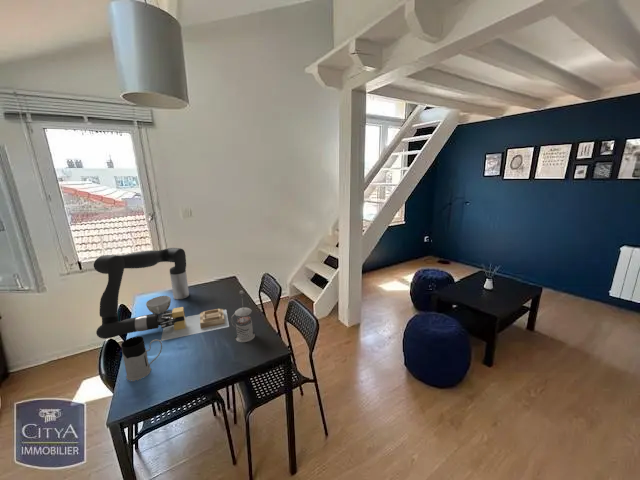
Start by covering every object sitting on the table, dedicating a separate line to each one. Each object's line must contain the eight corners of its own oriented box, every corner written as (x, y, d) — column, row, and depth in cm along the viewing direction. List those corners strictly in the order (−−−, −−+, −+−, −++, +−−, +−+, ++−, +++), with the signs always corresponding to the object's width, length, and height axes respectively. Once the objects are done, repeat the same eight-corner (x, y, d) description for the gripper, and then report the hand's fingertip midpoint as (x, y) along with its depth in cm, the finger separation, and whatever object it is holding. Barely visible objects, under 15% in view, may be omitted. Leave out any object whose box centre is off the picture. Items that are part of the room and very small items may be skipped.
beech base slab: (200, 317, 155) (199, 310, 154) (223, 313, 159) (222, 306, 158) (200, 328, 144) (199, 321, 143) (224, 323, 149) (224, 316, 148)
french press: (249, 343, 134) (246, 296, 127) (228, 340, 136) (223, 294, 130) (258, 331, 143) (255, 287, 137) (237, 329, 145) (233, 285, 139)
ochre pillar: (175, 325, 147) (172, 308, 145) (185, 323, 149) (183, 306, 147) (174, 330, 143) (171, 313, 140) (185, 328, 145) (182, 311, 142)
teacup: (149, 310, 165) (147, 297, 163) (172, 305, 171) (171, 293, 169) (146, 322, 152) (143, 309, 150) (171, 317, 157) (169, 304, 155)
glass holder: (128, 369, 116) (122, 338, 113) (166, 360, 122) (161, 330, 118) (123, 384, 109) (116, 351, 105) (164, 373, 114) (159, 341, 110)
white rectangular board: (165, 322, 152) (165, 320, 152) (226, 310, 164) (226, 309, 164) (160, 342, 134) (160, 340, 134) (229, 328, 146) (229, 326, 146)
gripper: (143, 322, 132) (182, 315, 138) (148, 309, 145) (184, 303, 151) (145, 336, 134) (184, 328, 140) (150, 322, 146) (186, 315, 153)
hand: (184, 315), depth 145 cm, fingers closed on ochre pillar, 5 cm apart
